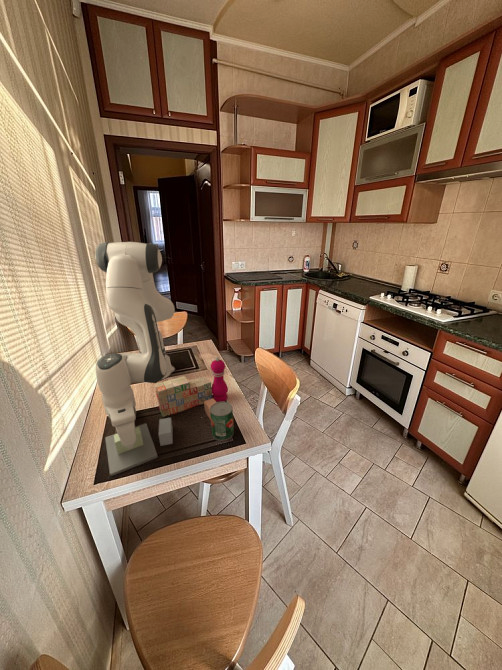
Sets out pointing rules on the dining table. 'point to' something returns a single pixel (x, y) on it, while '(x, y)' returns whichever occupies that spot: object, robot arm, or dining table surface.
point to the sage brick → (122, 449)
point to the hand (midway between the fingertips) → (128, 437)
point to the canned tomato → (222, 420)
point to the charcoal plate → (130, 453)
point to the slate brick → (165, 431)
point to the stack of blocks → (182, 394)
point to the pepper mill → (219, 381)
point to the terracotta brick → (208, 406)
